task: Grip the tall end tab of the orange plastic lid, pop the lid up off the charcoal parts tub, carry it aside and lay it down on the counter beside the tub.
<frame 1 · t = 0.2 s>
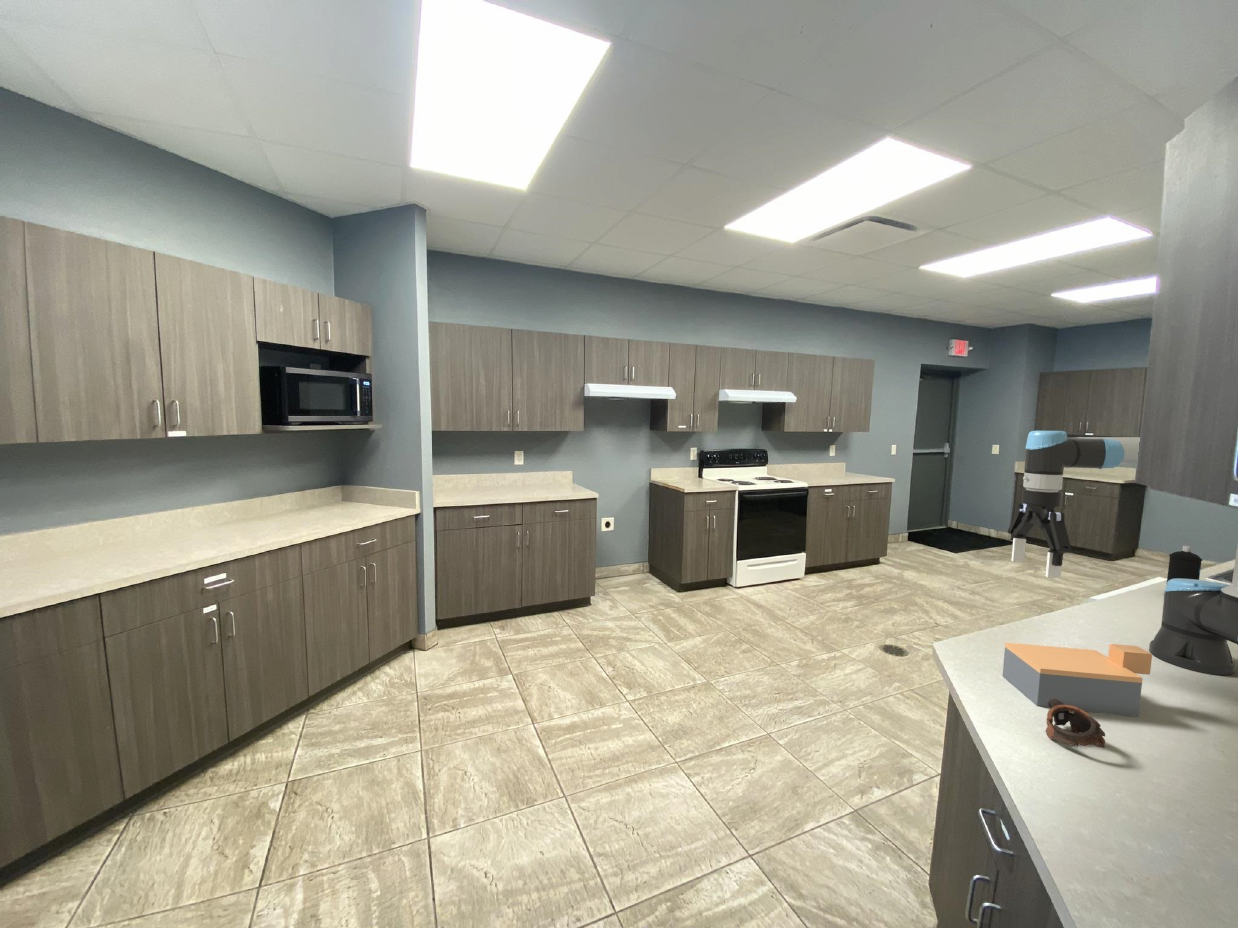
hand: (1034, 569, 123), 28 cm above the countertop, tool pointing down, fingers open, 13 cm apart
tub: (1065, 694, 114), on the countertop
aerosol can: (1180, 597, 179), on the countertop
brown jagged ring: (1070, 739, 98), on the countertop
lid: (1068, 663, 113), point 8 cm above the countertop, touching tub
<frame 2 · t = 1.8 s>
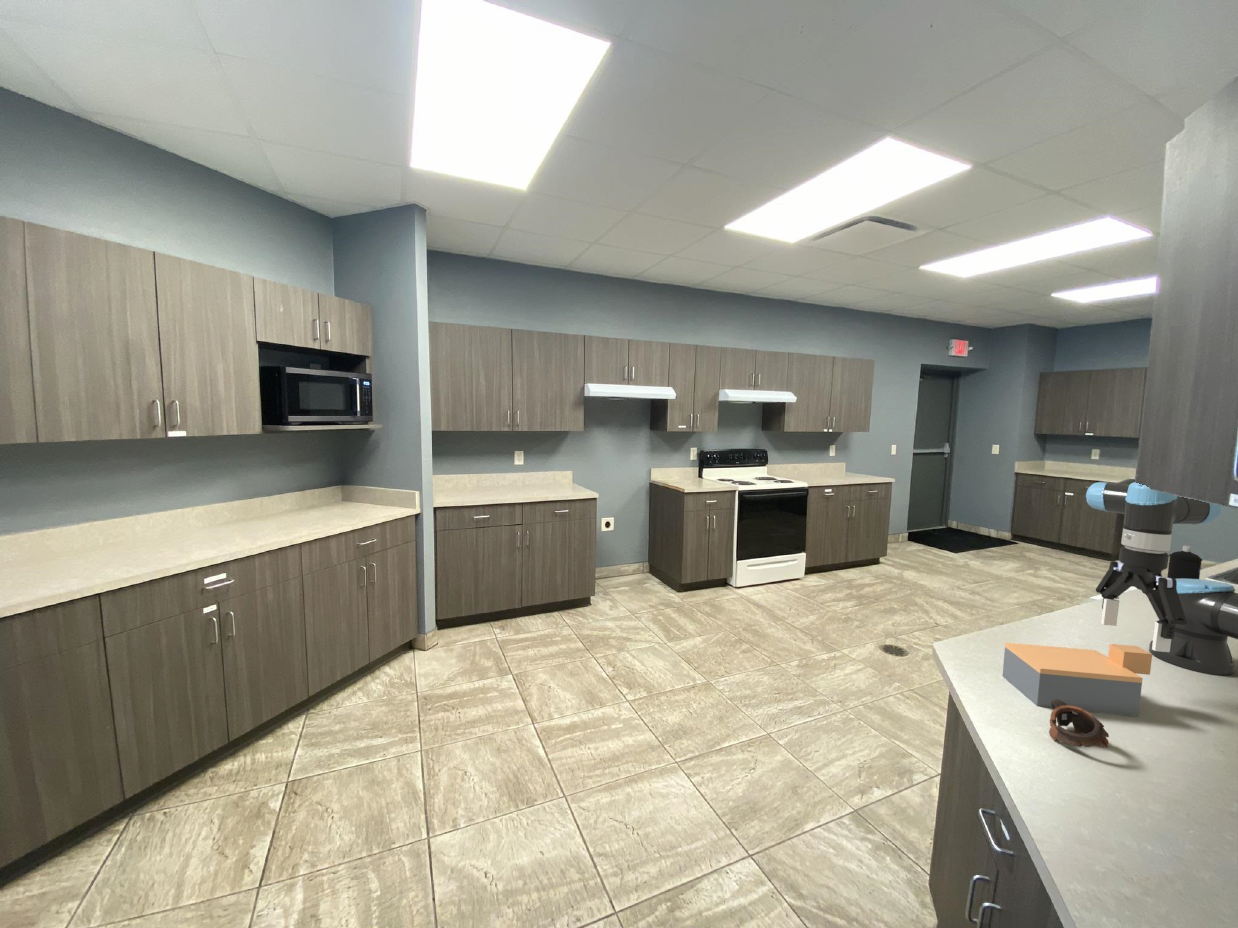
hand: (1133, 637, 110), 16 cm above the countertop, tool pointing down, fingers open, 13 cm apart
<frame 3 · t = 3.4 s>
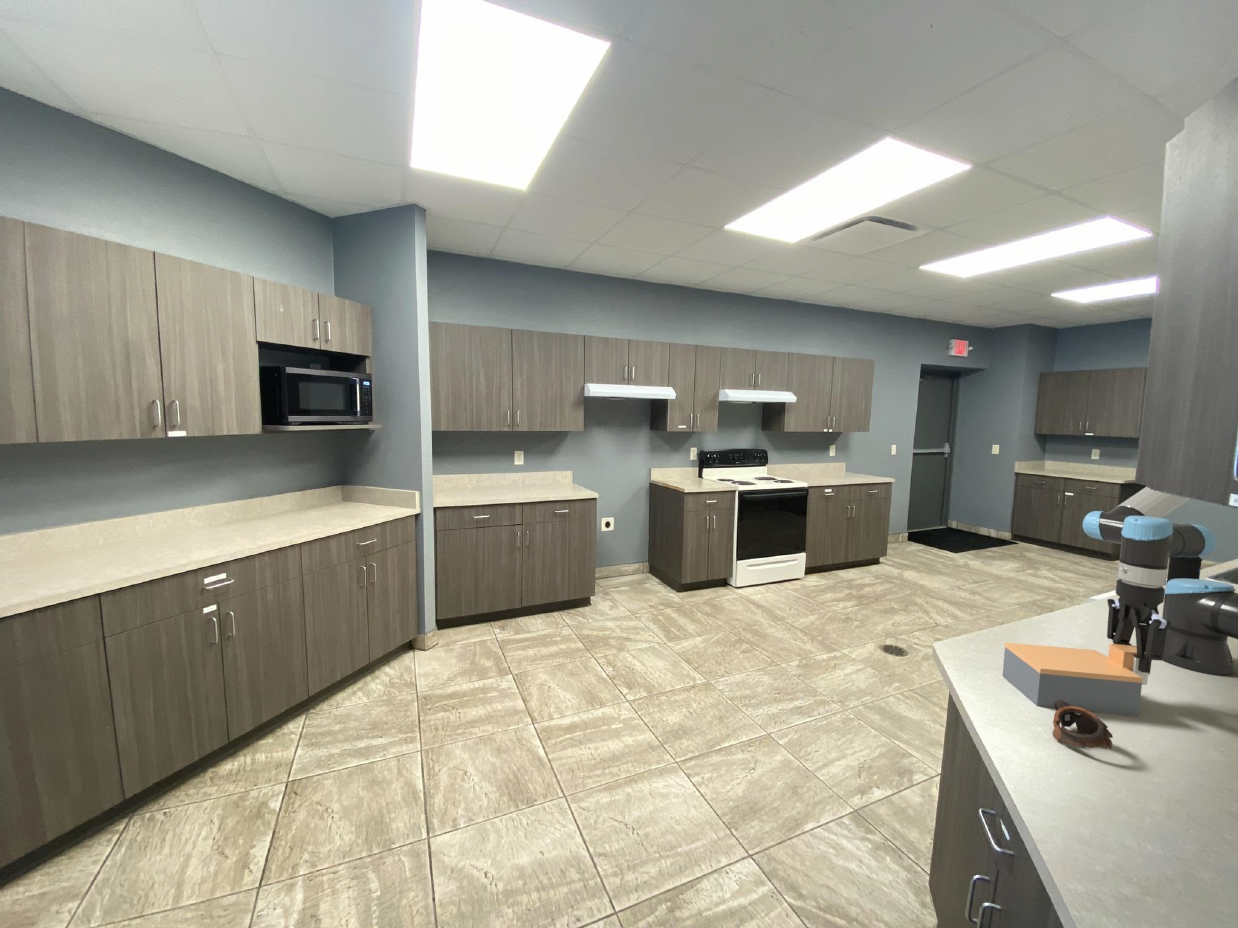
hand: (1129, 677, 111), 6 cm above the countertop, tool pointing down, fingers closed on lid, 4 cm apart
lid: (1068, 663, 113), point 8 cm above the countertop, touching gripper, tub
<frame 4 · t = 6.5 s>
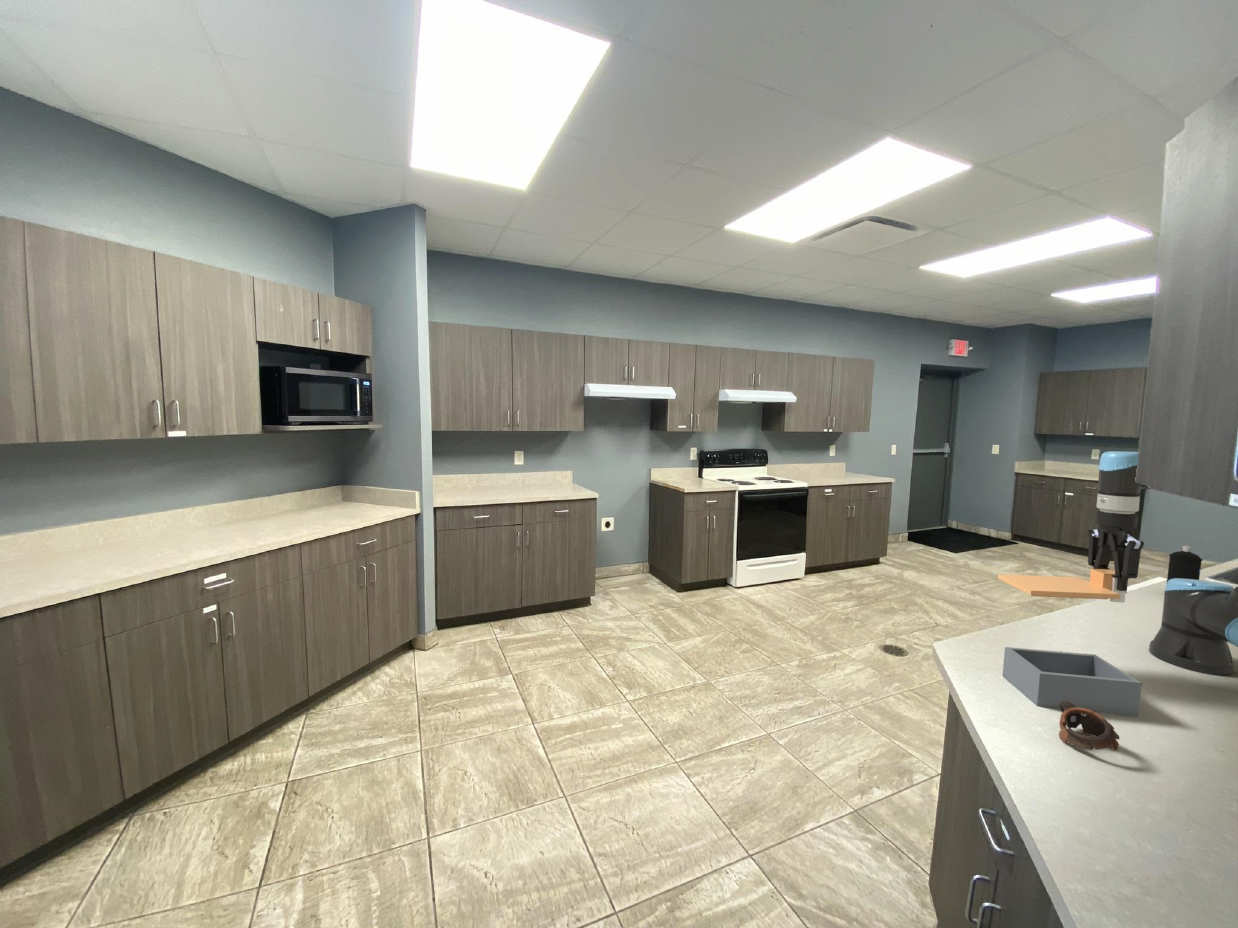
hand: (1108, 598, 123), 20 cm above the countertop, tool pointing down, fingers closed on lid, 4 cm apart
lid: (1055, 587, 125), point 22 cm above the countertop, touching gripper
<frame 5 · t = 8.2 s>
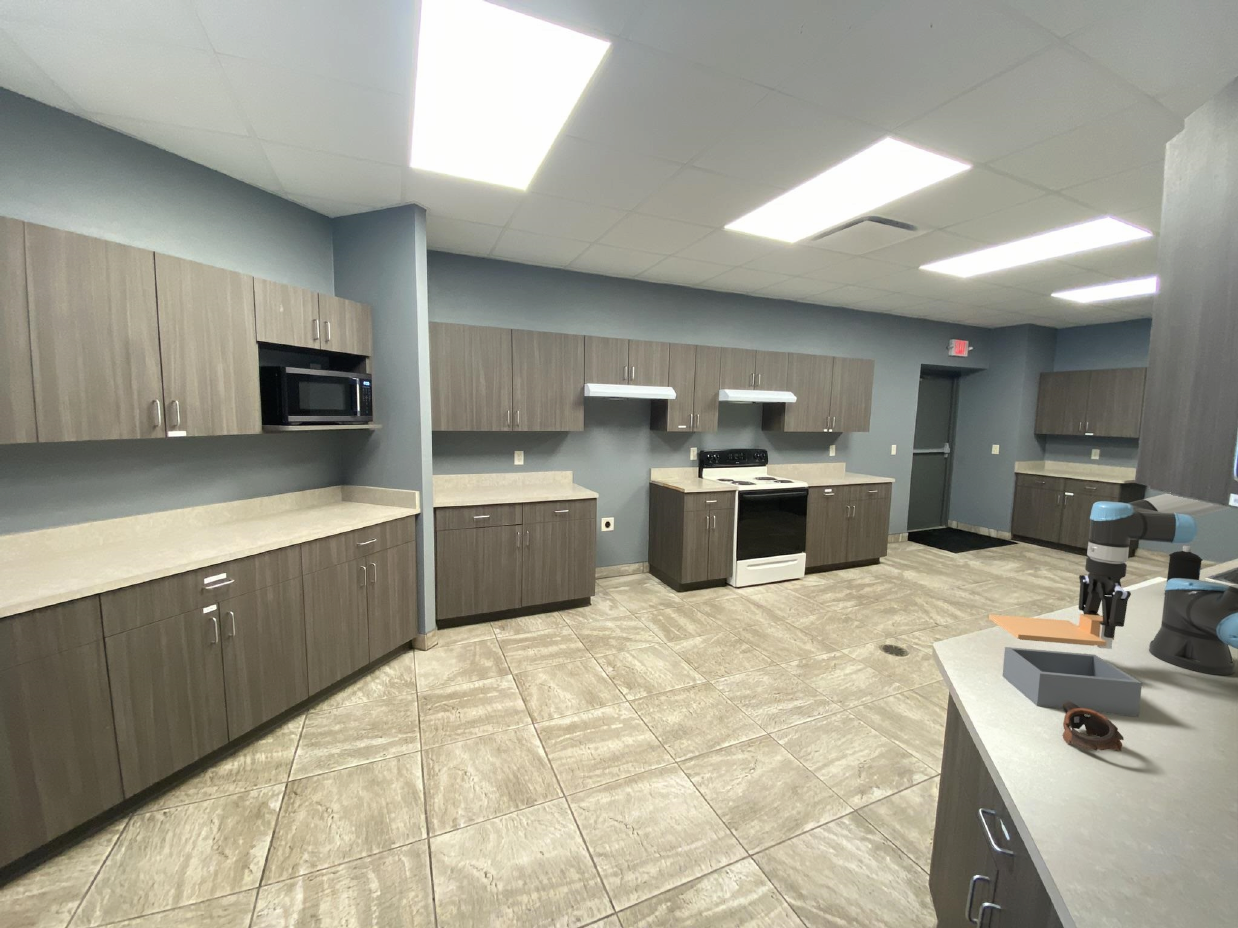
hand: (1097, 643, 126), 7 cm above the countertop, tool pointing down, fingers closed on lid, 4 cm apart
lid: (1043, 631, 128), point 9 cm above the countertop, touching gripper
when the fingers open (1 cm above the countertop, at t = 9.6 s): lid drops 3 cm, on the countertop.
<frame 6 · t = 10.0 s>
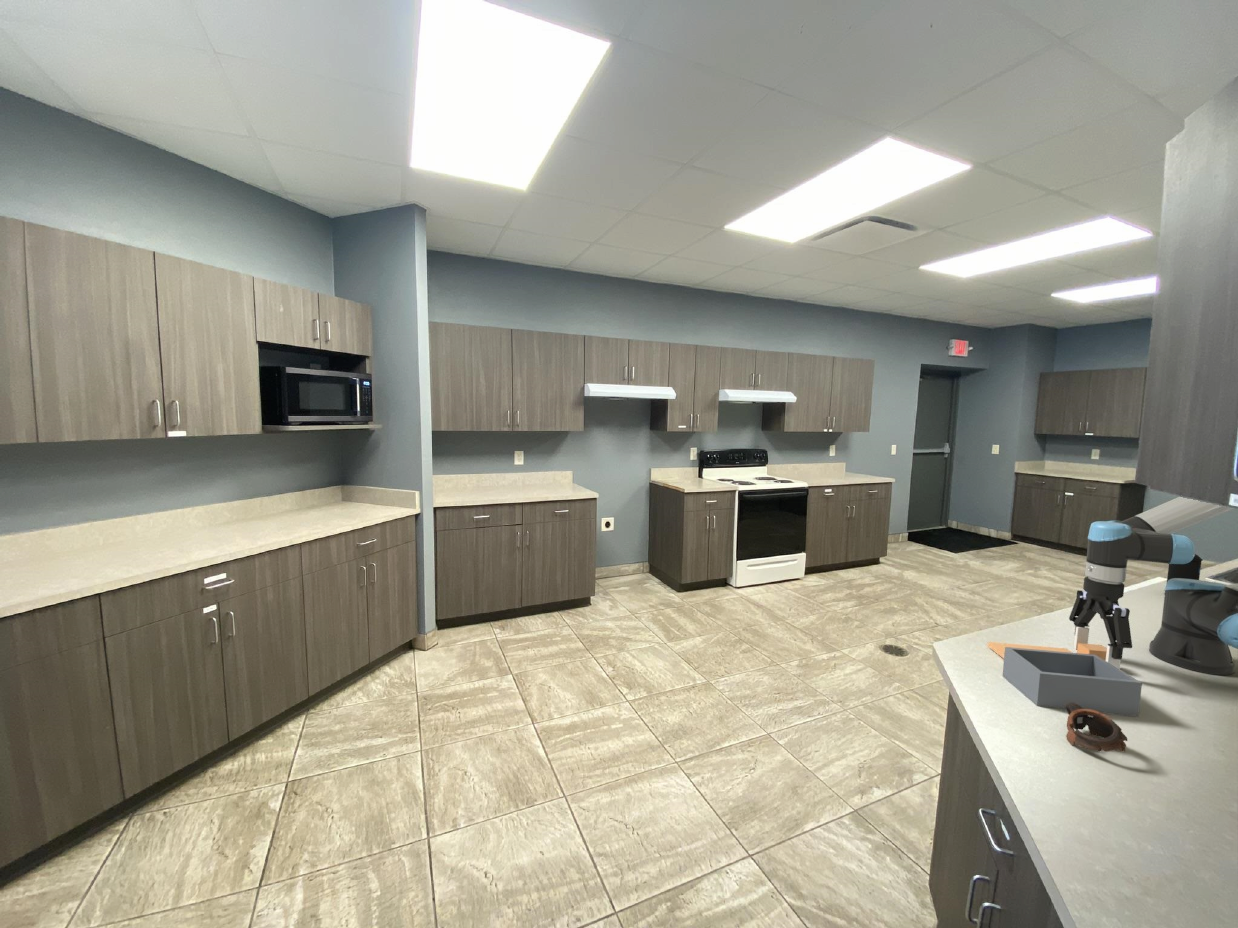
hand: (1095, 658, 127), 2 cm above the countertop, tool pointing down, fingers open, 10 cm apart
lid: (1041, 660, 129), on the countertop
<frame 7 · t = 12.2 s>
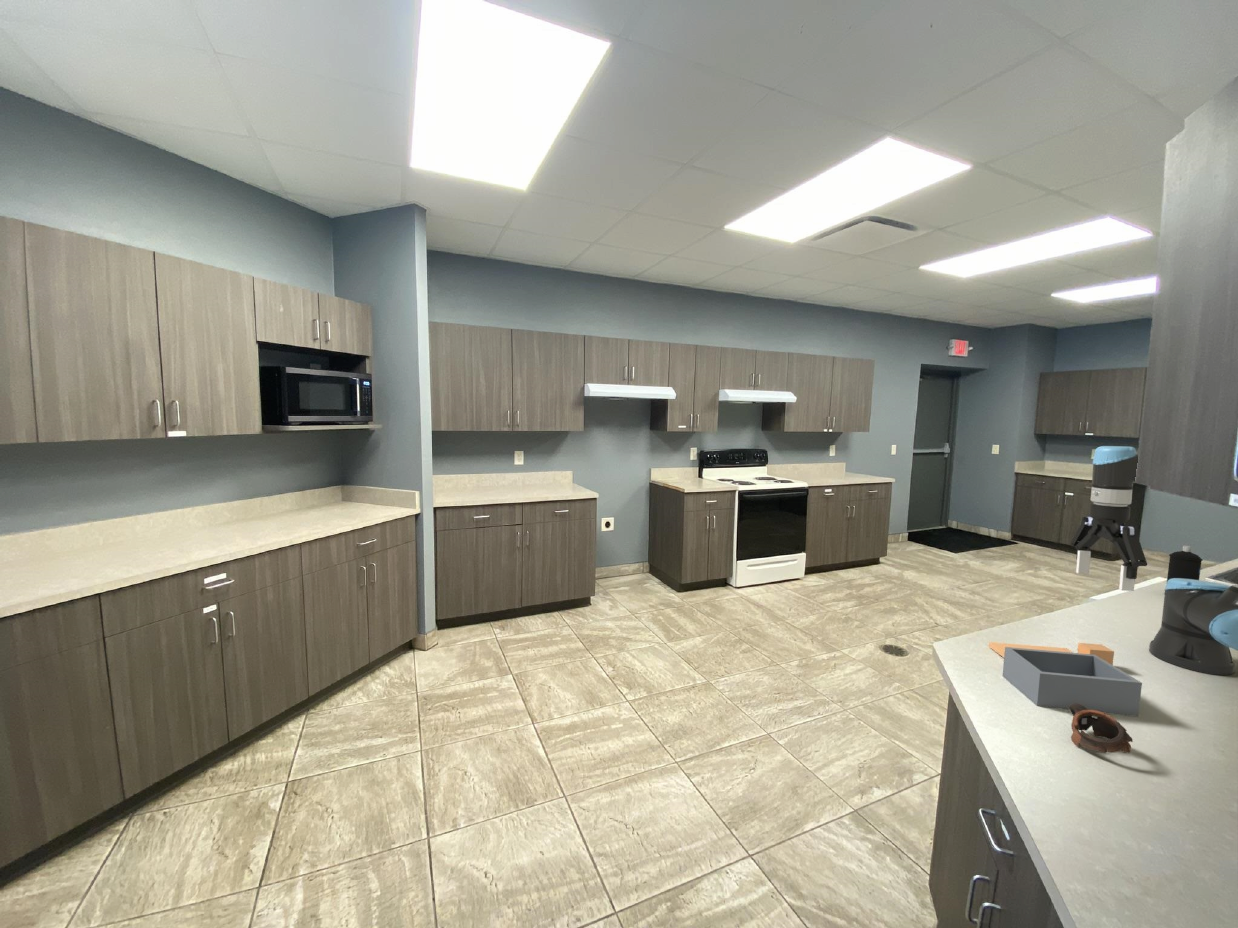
hand: (1103, 581, 126), 24 cm above the countertop, tool pointing down, fingers open, 13 cm apart
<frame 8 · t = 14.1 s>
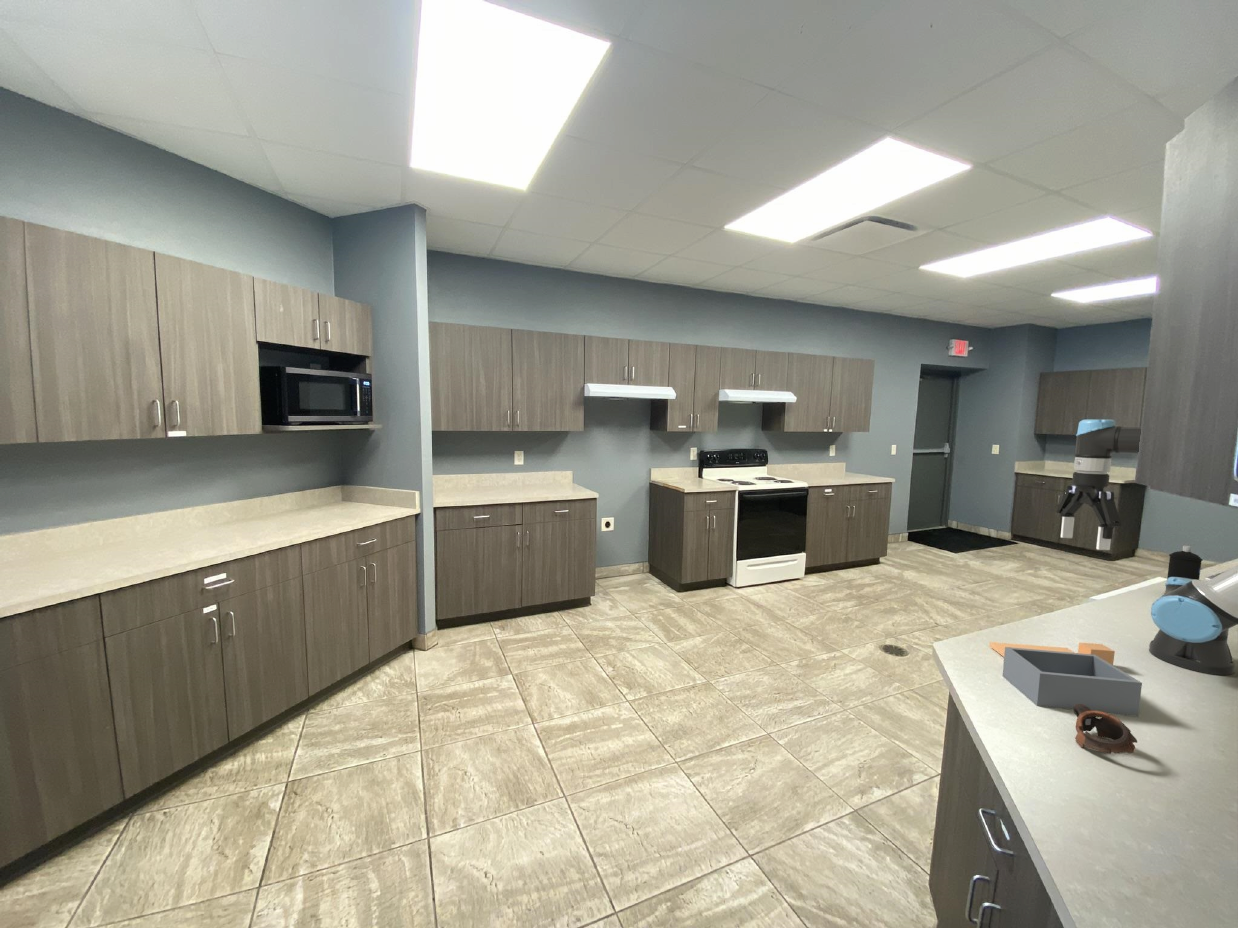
hand: (1083, 543, 138), 31 cm above the countertop, tool pointing down, fingers open, 13 cm apart
at the end: lid inside the target area (1.6 cm from its centre), point 0.5 cm above the countertop; lid touching countertop; the gripper is holding nothing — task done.
